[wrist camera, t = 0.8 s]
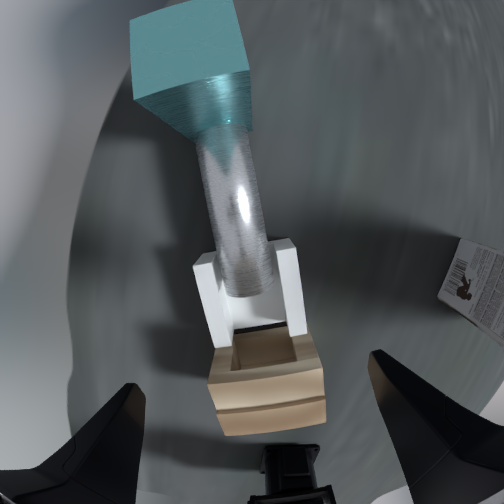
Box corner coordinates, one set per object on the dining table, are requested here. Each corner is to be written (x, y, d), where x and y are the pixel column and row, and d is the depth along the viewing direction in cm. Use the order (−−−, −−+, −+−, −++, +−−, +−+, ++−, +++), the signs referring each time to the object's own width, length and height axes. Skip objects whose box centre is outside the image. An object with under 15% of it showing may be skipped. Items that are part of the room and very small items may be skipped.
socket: (311, 369, 22) (326, 422, 16) (231, 382, 23) (225, 435, 16) (306, 322, 21) (324, 371, 15) (218, 336, 22) (206, 388, 15)
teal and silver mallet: (279, 274, 19) (299, 353, 9) (222, 284, 19) (195, 367, 10) (241, 79, 16) (230, -8, 6) (185, 92, 16) (129, 20, 7)
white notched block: (300, 312, 21) (307, 333, 18) (220, 325, 21) (214, 348, 18) (289, 237, 20) (295, 247, 16) (202, 253, 20) (192, 265, 17)
